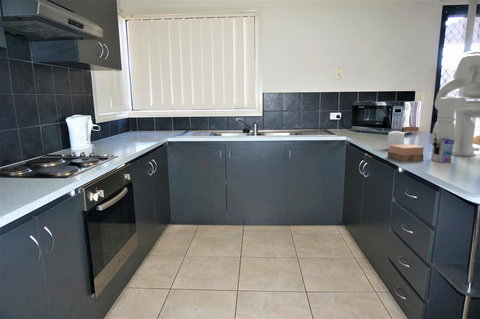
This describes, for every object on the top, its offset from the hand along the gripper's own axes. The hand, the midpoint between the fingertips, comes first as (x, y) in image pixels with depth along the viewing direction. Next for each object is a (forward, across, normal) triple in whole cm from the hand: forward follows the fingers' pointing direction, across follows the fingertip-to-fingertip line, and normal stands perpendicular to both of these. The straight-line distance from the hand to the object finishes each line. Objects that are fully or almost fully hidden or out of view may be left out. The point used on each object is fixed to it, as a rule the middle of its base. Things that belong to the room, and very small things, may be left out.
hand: (441, 153), depth 170 cm
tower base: (+5, +16, -9) cm, 18 cm away
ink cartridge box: (+4, 0, 0) cm, 4 cm away
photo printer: (+4, +2, -40) cm, 40 cm away
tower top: (+1, +15, -8) cm, 18 cm away
